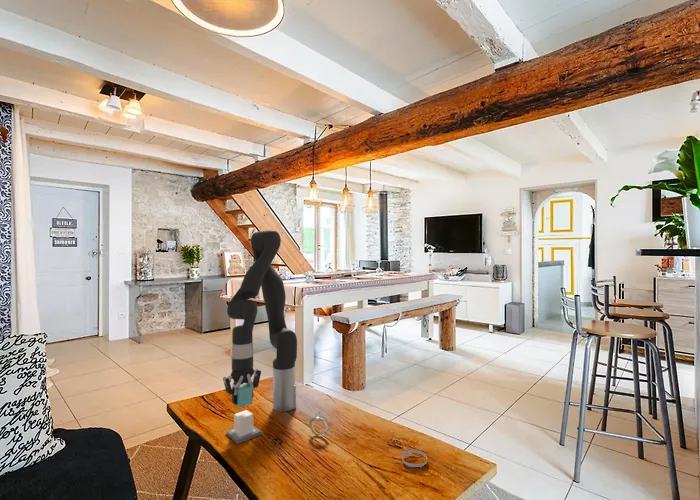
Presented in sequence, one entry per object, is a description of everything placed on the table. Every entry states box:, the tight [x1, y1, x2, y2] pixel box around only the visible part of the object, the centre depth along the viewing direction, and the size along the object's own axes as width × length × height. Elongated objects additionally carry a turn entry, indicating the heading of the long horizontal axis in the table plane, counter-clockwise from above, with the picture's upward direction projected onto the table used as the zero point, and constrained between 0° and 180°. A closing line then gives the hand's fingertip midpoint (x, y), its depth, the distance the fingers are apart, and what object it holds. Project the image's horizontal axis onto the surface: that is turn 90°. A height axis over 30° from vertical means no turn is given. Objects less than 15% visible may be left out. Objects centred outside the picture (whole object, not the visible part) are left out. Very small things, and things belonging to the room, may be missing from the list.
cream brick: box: [233, 409, 254, 436], centre depth 130 cm, size 5×5×6 cm
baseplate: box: [225, 425, 262, 445], centre depth 130 cm, size 9×9×1 cm
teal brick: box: [235, 383, 253, 408], centre depth 130 cm, size 5×5×6 cm
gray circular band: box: [401, 449, 428, 468], centre depth 112 cm, size 8×8×2 cm
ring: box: [309, 412, 329, 438], centre depth 128 cm, size 7×3×8 cm, turn 61°
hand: (242, 401), depth 130 cm, fingers closed on teal brick, 5 cm apart
